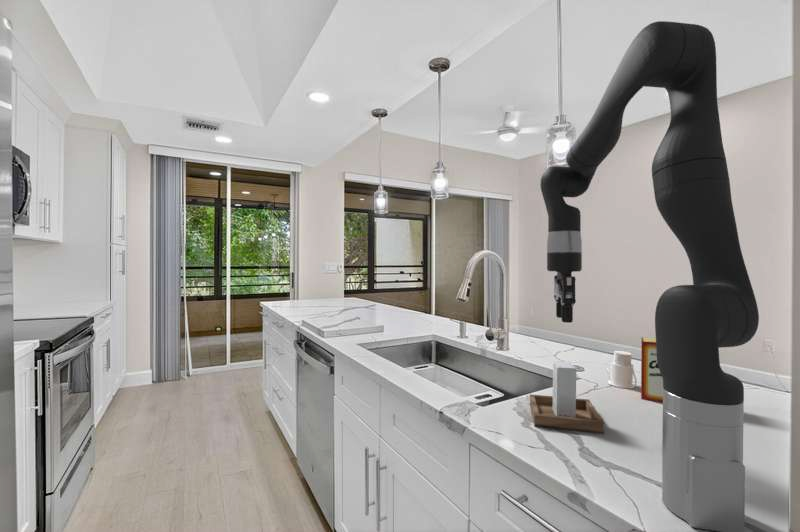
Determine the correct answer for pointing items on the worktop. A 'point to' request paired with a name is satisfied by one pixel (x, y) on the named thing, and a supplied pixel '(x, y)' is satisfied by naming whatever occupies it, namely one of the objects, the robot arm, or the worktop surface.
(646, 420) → the worktop surface
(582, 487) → the worktop surface
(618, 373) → the downlight
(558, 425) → the tray
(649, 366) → the baking soda box
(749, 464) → the worktop surface
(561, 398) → the skincare box
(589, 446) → the worktop surface
